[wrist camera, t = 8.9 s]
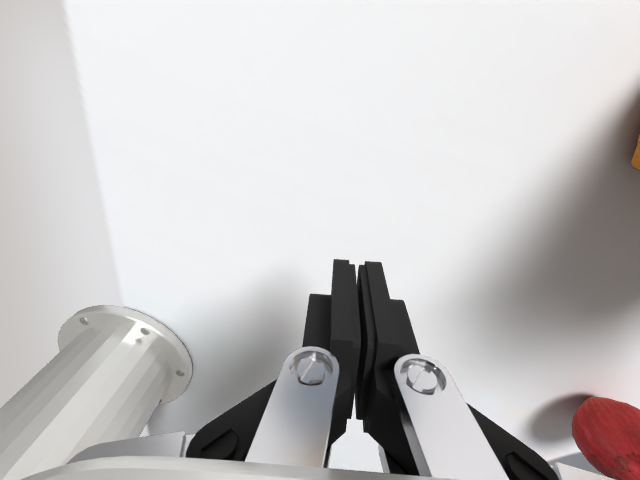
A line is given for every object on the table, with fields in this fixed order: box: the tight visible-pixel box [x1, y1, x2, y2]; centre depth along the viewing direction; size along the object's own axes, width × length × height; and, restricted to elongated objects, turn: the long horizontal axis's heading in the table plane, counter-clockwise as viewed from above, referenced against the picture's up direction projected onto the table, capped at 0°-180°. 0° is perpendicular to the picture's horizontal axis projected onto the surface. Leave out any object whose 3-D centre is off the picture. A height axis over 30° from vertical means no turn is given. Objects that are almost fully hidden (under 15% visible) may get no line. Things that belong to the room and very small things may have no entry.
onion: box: [572, 397, 640, 480], centre depth 25 cm, size 6×6×8 cm
